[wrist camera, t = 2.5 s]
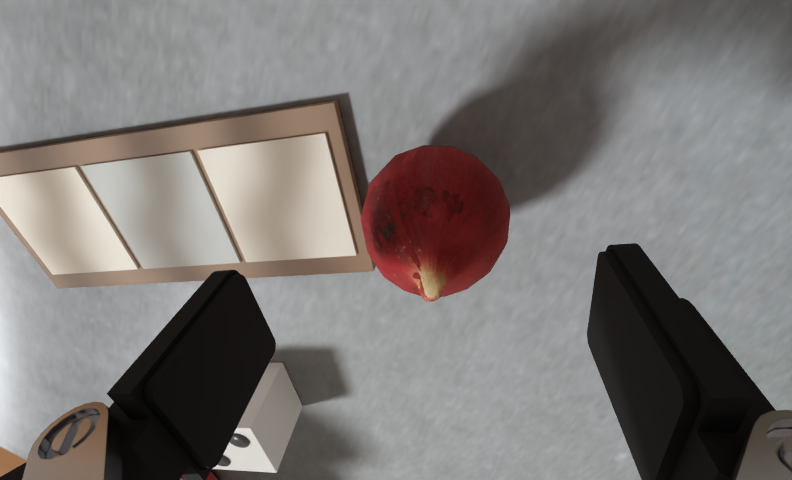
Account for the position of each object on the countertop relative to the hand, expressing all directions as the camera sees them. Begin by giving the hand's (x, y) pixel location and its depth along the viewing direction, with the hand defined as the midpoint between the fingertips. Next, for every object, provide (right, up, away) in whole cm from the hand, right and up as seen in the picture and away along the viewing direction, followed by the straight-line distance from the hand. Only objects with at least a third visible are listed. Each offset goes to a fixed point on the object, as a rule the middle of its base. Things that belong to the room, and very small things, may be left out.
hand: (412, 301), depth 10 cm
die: (-11, -9, +19) cm, 23 cm away
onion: (+2, +4, +8) cm, 10 cm away
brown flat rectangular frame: (-13, +3, +11) cm, 17 cm away
